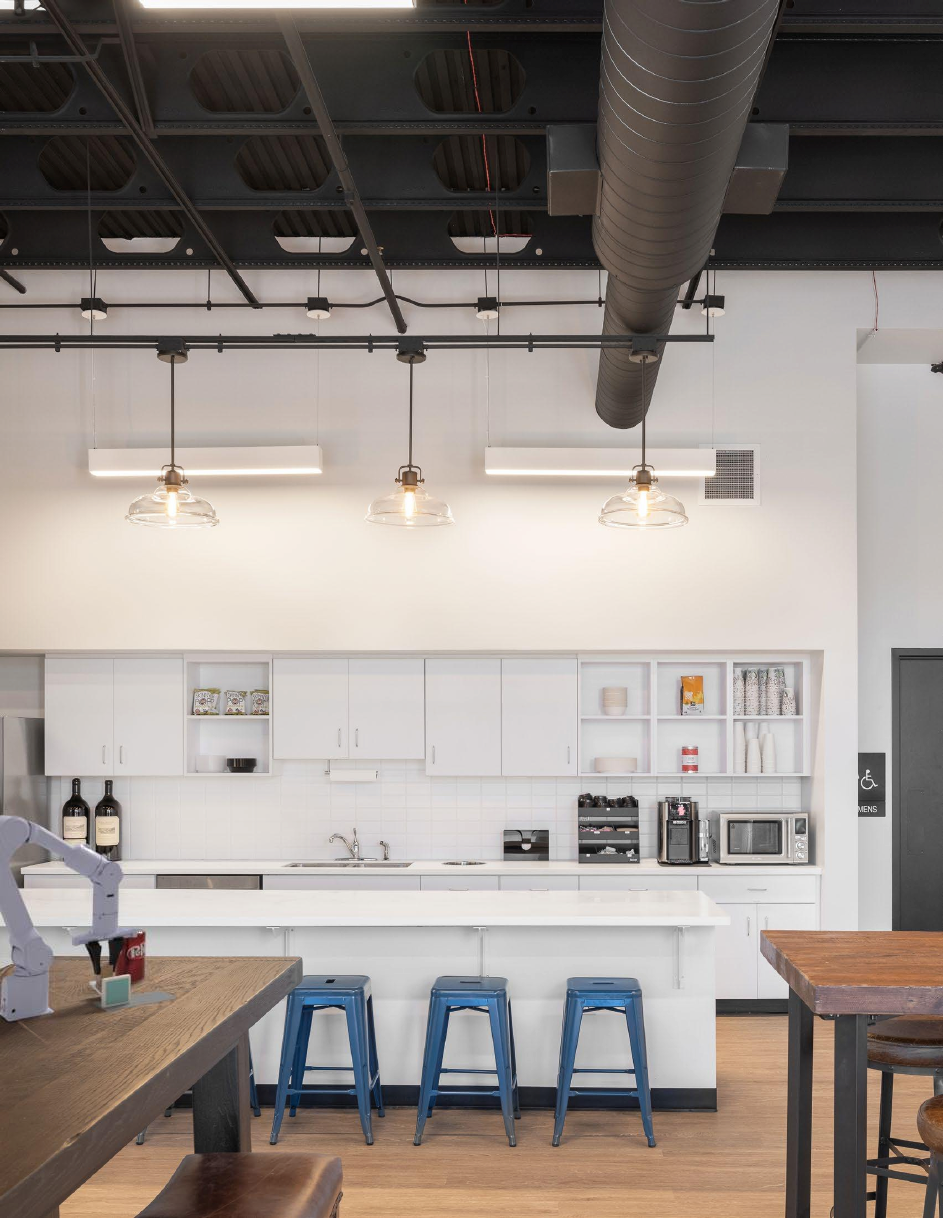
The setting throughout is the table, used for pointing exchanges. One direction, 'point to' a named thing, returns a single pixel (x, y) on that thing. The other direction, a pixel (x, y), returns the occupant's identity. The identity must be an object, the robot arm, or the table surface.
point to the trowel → (102, 976)
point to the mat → (140, 1000)
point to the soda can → (133, 957)
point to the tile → (116, 990)
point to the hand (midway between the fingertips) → (104, 972)
